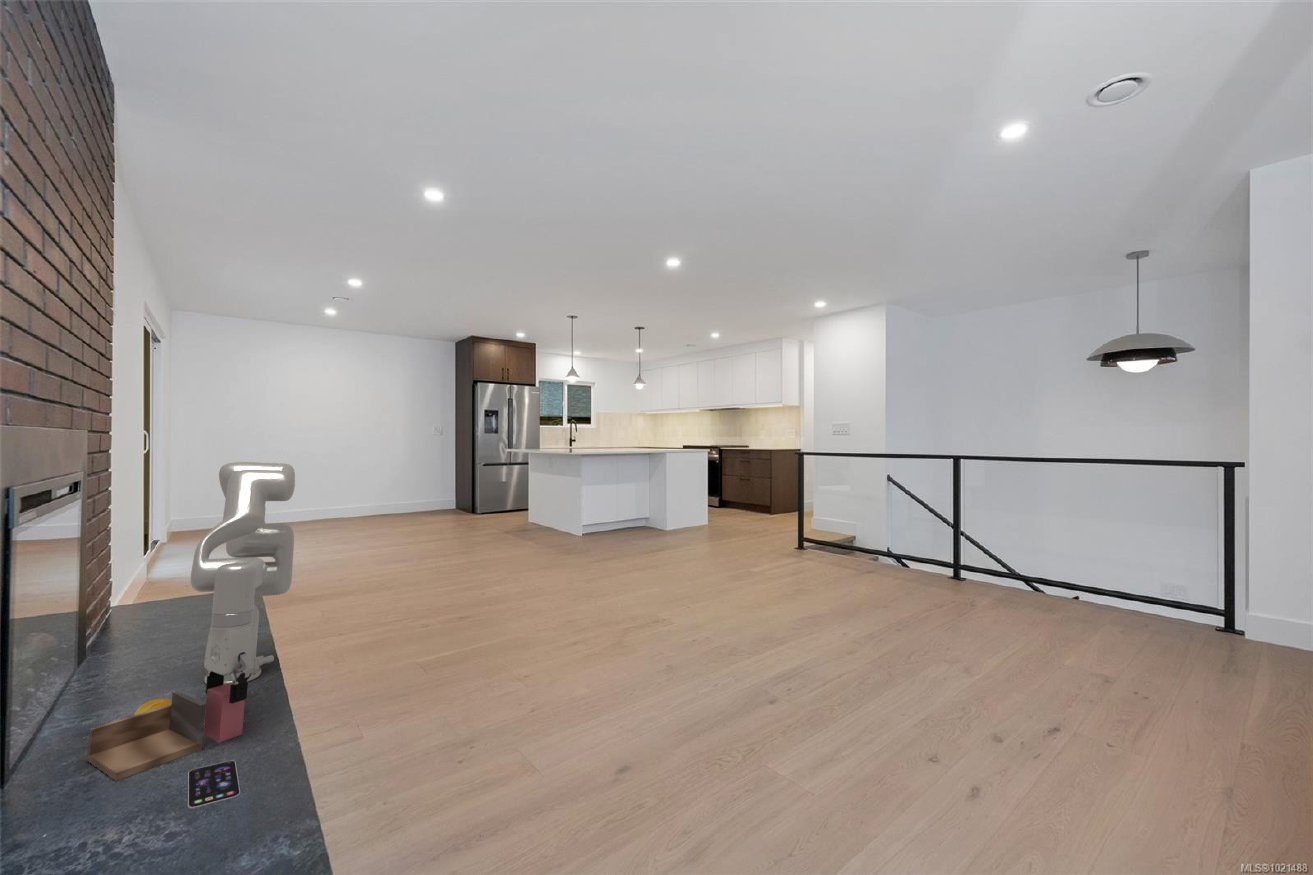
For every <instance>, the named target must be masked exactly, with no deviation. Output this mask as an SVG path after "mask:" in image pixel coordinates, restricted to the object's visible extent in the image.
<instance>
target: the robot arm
mask: <svg viewBox="0 0 1313 875" xmlns="http://www.w3.org/2000/svg"><path fill="white" fill-rule="evenodd" d="M218 479H219V480H218V481H219V485H220V488H221V491H222V493H223V496H224V498H225V500H224V510H223V516H222V520H221V522H219V523H218V524H217V525H215V526H213V527H212V528H211V529H210V530H209V531H207V533H205V535H204V536H203V537H202V538H201V540H200V541H199V543H197V545H196V548H195V550H194V555H193V560H192V566H191V573H190V585H191V587H192V589H193V590H194V591H196V592H199V593H213V597H212V598H213V599H212V609H211V621H210V628H209V632H208V635H207V636H208V637H207V640H206V648H205V654H204V660H203V661H204V664H203V665H204V666H203V667H204V668H205V669H206V671H205V672H206V675H205V676H204V683H205V684H206V687H205V694H206V695H207V689H210V688H214V687H217V686H220V685H224V684H227V683H232V685H231V687H230V699H229V703H231V704H232V703H236V702H239V701H242V700H245V701H246V699H247V698H248V687H249V686H248V685H249V682H251V681H253V680H255V679H256V678H258V677H259V676H260V675H261V674H262V668H261V667H262V666H263V665H265V664H270V663H272V662H274V661H275V657H274V655H273V654H271V655H267V656H264V655H259V656H256V655H257V647H258V646H257V645H258V635H259V634H258V632H259V623H260V622H259V620H260V611H259V608H258V606H256V604H255V597H257V598H258V597H267V596H268V597H269V596H278V595H279V596H280V595H283V594H285V593H287V592H288V591H289V590H290V588H291V585H292V580H293V567H294V566H293V565H294V564H293V562H294V548H295V547H294V546H295V533H294V530H293V528H292V527H291V526H290V525H289V524H287V523H266V521H265V520H266V519H265V518H266V510H267V508H266V502H287V501H289V500H291V499H292V497H293V495H294V493H295V487H296V473H295V469H294V468H293V466H292V465H291V464H289V463H277V462H272V463H271V462H257V461H256V462H254V461H253V462H252V461H250V462H249V461H243V462H242V461H239V462H238V461H236V462H229V463H226V464H224V465H222V466H221V467H220V469H219V472H218ZM223 544H225V551H226V553H227V555H228V556H230V557H226V558H224V557H223V558H221V557H220V558H209V557H210V555H211V553H212V552H213V551H214V550H216V548H218V547H219V546H221V545H223ZM262 558H273V560H274V561H265V560H263V559H262Z"/></svg>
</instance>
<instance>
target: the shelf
mask: <svg viewBox="0 0 1313 875" xmlns="http://www.w3.org/2000/svg"><path fill="white" fill-rule="evenodd" d="M171 700H172V704H171V705H168V706H164V707H161V708H158V709H154V710H151V711H148V712H144V713H141V714H137V715H134V714H133V715H131V716H128V717H125V718H120V719H117V720H114V721H111V722H108V723H104V724H100V725H97V726H93V727H90V728H89V733H88V734H89V736H88V743H87V744H88V746H87V755H86V762H87V761H88V762H89V763H88V762H87V763H88V764H90V763H91V764H93V765H95V767H97V768H98V769H100V770H101V771H103V772H104V773H103V772H102V773H103V774H104V775H106V774H107V775H108V776H107V775H106V776H107V777H109V778H110V779H112V780H113V781H115V782H118V781H120V780H123V779H126V778H128V777H131V776H134V775H136V774H140V773H142V772H145V771H147V770H150V769H153V768H155V767H158V766H160V765H164V764H166V763H169V762H172V761H175V760H176V759H180V758H182V757H185V756H188V755H190V754H194V753H196V752H199V751H201V750H203V743H204V725H205V713H206V703H205V702H203V701H200V700H199V699H196V698H194V697H192V696H190V695H188V694H186V693H184V692H181V691H179V690H175V691H172V693H171ZM91 764H90V765H91ZM95 767H94V768H95ZM97 768H96V769H97ZM98 769H97V770H98ZM100 770H99V771H100ZM101 771H100V772H101Z"/></svg>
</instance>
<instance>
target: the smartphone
mask: <svg viewBox="0 0 1313 875" xmlns="http://www.w3.org/2000/svg"><path fill="white" fill-rule="evenodd" d="M240 794H241V789H240V782H239V775H238V769H237V763H236V761H235V760H227V761H221V762H219V763H214V764H210V765H205V766H201V767H196V768H193V769H191V770H189V771H188V772H187V808H188V809H190V810H193V809H199V808H201V807H205V806H208V805H212V804H214V803H215V804H216V803H219V802H223V801H226V800H229V799H234V798H236V797H238V796H239V795H240Z"/></svg>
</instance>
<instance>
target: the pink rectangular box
mask: <svg viewBox="0 0 1313 875" xmlns="http://www.w3.org/2000/svg"><path fill="white" fill-rule="evenodd" d="M231 685H232V683H227V684H224V685H220V686H217V687H214V688H210V689H207V694H206V703H205V704H206V710H205V722H204V734H203V736H205V737H208V738H209V739H210V740H213V741H215V742H217V743H219V744H220V743H222V742H225V741H228V740H230V739H233V738H236V737H238V736H241V735H243V731H244V729H243V728H244V717H245V716H244V715H245V705H246V704H245V703H246V699H245V700H242V701H239V702H236V703H232V704H231V703H229V699H230V687H231Z"/></svg>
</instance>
